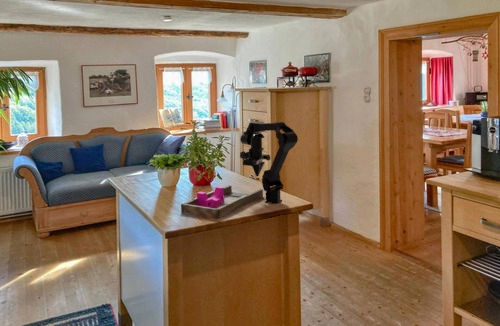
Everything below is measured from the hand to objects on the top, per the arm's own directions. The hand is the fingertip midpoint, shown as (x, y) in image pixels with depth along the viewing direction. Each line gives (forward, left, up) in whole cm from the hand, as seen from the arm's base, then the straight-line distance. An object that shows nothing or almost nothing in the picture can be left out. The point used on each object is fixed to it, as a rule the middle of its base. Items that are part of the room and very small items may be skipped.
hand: (257, 176), depth 233 cm
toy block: (+13, +22, -12) cm, 28 cm away
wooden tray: (+8, +19, -11) cm, 23 cm away
